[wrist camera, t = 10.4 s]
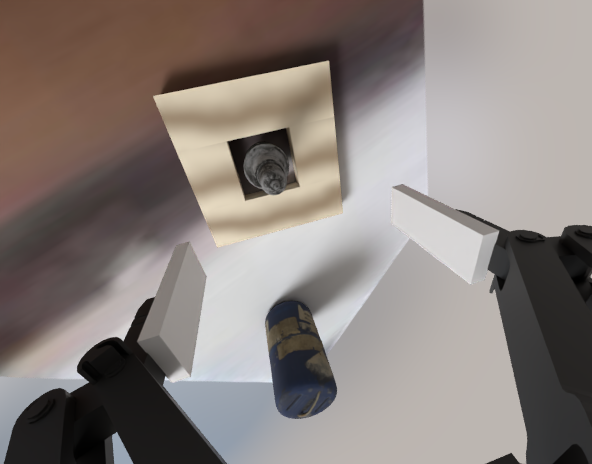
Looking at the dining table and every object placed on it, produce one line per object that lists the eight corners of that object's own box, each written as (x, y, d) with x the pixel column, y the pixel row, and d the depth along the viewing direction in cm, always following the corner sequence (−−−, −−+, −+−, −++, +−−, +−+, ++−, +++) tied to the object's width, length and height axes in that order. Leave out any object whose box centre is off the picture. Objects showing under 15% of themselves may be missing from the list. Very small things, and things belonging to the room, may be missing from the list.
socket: (159, 96, 28) (153, 96, 26) (322, 63, 30) (328, 60, 28) (218, 239, 38) (217, 247, 36) (337, 207, 40) (342, 213, 38)
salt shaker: (281, 136, 33) (302, 152, 22) (286, 178, 36) (307, 209, 25) (238, 143, 32) (240, 162, 22) (247, 185, 35) (252, 219, 24)
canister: (318, 309, 50) (355, 400, 35) (288, 336, 52) (310, 434, 37) (286, 289, 46) (312, 384, 30) (254, 320, 48) (263, 424, 32)
